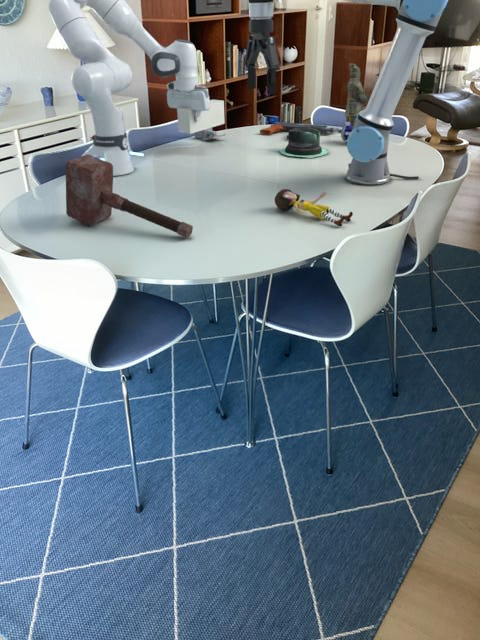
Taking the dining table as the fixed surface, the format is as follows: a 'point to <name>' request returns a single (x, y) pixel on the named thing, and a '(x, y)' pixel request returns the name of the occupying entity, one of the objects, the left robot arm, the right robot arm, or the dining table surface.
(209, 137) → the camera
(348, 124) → the toy
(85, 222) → the sledgehammer
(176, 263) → the dining table surface
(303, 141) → the green hat
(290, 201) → the figurine
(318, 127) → the submachine gun
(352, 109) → the statue
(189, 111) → the box
